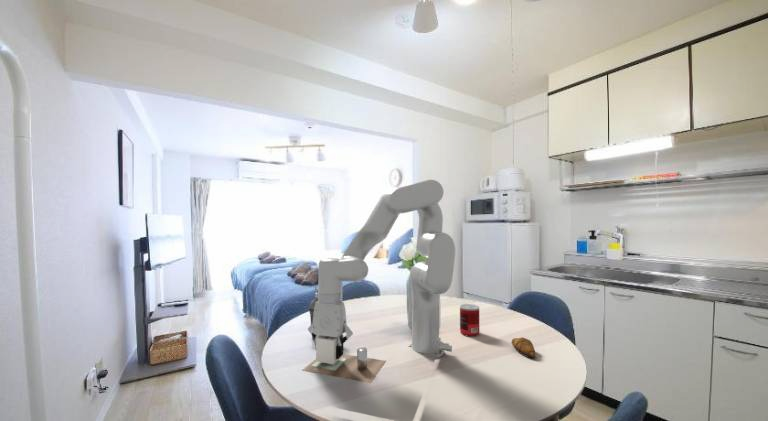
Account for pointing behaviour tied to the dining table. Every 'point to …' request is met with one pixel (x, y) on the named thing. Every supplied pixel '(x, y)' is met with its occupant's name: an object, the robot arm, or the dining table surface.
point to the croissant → (524, 346)
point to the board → (347, 368)
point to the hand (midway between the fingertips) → (329, 355)
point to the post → (361, 359)
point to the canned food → (469, 319)
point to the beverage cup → (312, 307)
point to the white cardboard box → (326, 349)
